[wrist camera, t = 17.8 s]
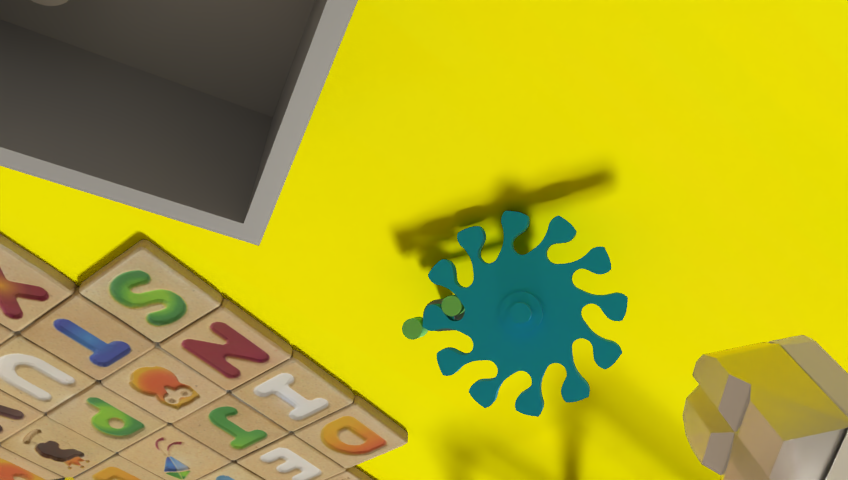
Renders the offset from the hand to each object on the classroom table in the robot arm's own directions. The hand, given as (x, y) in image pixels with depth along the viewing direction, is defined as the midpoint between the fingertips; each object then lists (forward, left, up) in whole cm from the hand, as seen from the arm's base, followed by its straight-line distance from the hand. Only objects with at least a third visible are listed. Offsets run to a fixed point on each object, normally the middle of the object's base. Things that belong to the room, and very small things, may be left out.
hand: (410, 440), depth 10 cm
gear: (-12, +15, -23) cm, 30 cm away
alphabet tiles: (+3, +38, -23) cm, 45 cm away
